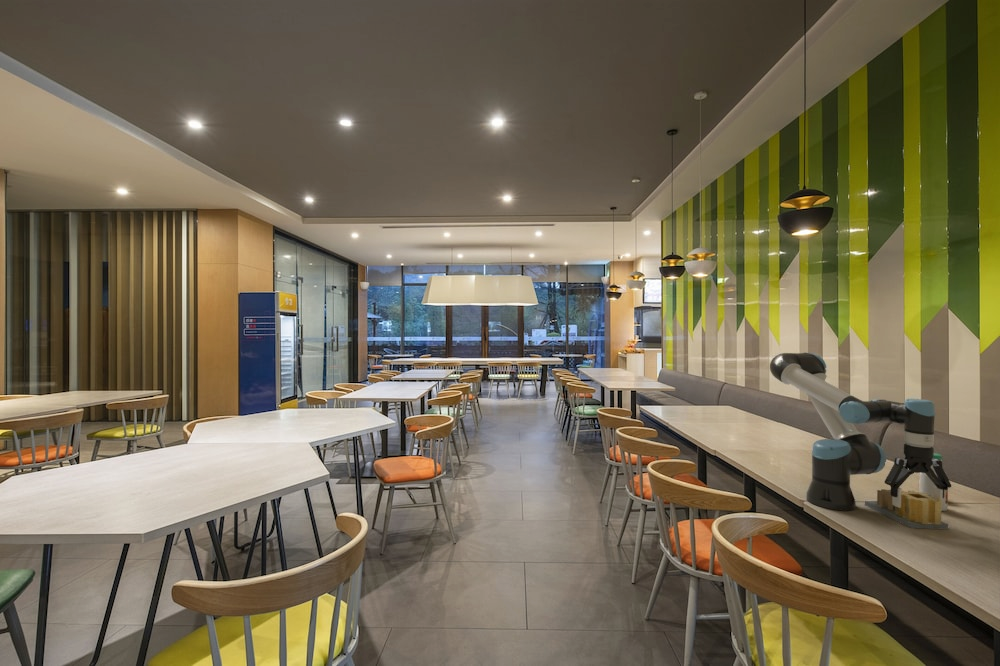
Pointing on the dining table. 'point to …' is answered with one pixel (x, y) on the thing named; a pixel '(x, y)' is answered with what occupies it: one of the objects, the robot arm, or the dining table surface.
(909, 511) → the gear
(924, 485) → the milk bottle
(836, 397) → the robot arm
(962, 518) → the dining table surface
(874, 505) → the gear board
